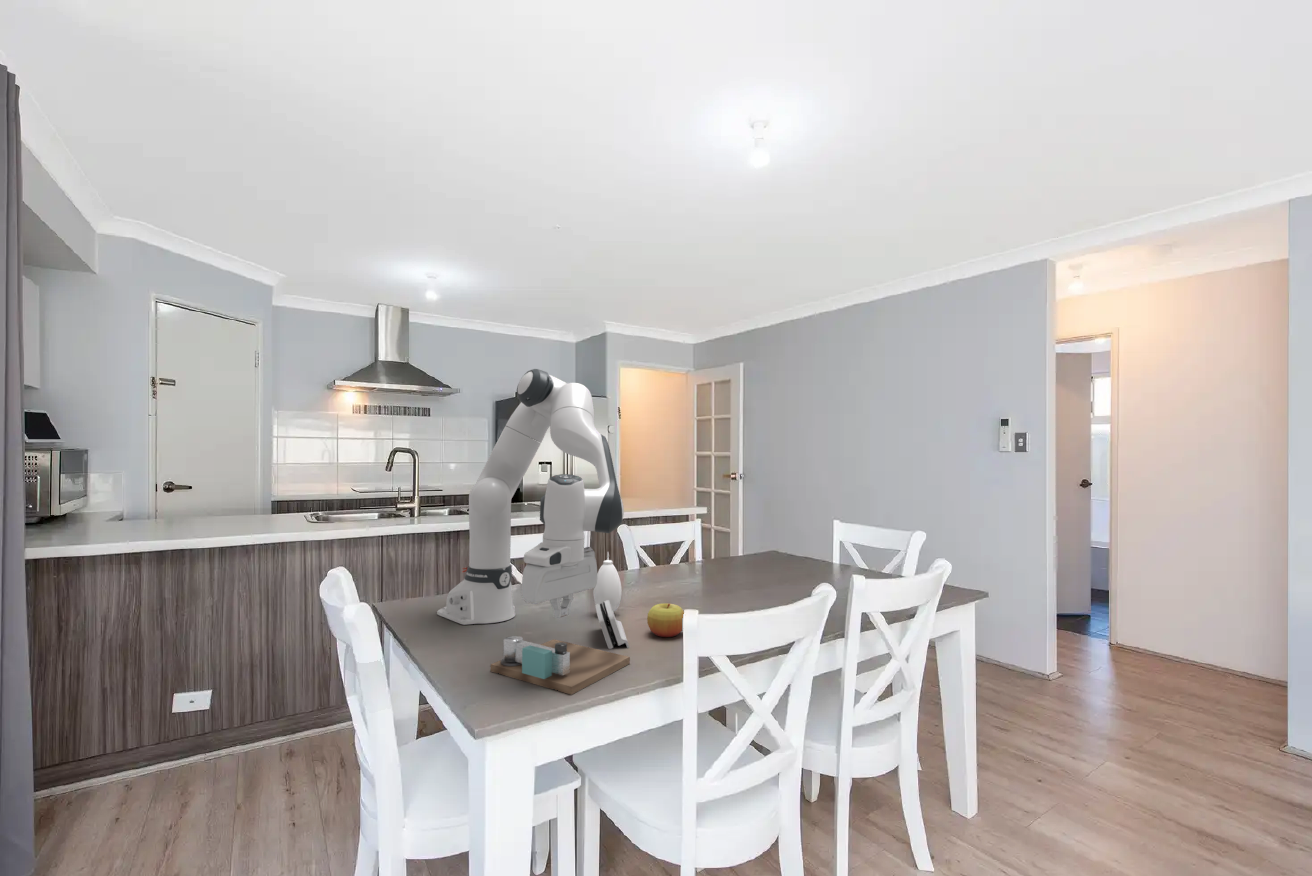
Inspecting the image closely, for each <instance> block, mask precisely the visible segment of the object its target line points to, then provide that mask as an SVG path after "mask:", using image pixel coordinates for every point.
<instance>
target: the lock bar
mask: <svg viewBox="0 0 1312 876" xmlns="http://www.w3.org/2000/svg"><path fill="white" fill-rule="evenodd" d="M527 646H535V647H539V648H543V649H547V650H551V651H552V672H553V673H556V674H560V675H565V674H567V673H569V672H570V652H567V643H563V642H561V643H556V644H555V648H551V647H547V646H543V645H540V644H539V643H535V642H532V641H531V642H530V641H526V640H524V638H523V636H518V635H512V636H507V637H505V638H504V639H503V655H502V656H503V658H502V659H503V660H504V661H506V662H518V663H521V664H522V648H524V647H527Z"/></svg>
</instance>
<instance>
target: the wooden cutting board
mask: <svg viewBox="0 0 1312 876" xmlns="http://www.w3.org/2000/svg"><path fill="white" fill-rule="evenodd" d="M561 642H563V643H567V652H570V672H569V673H567V674H565V675H560V674H556V673H553V672H552V676H550V677H548V678H546V679H542V678H538V677H535V676H531V675H527V674H524V673H522V664H521V663H518V662H506V661H504V660H503V658H502V659H500V660H497V661H495V662H492V663H490V672H491V673H496V674H498V673H499V674H498V675H503V676H505V677H507V678H508V677H509V678H512V679H516V680H519V681H523V682H526V683H530V684H533V685H536V686H540V687H543V688H547V689H551V690H553V689H555V690H554V691H557V690H558V692H561V693H565V694H567V695H571V696H572V695H574V694H576V693H578V692H579V691H581V690H583V689H585V688H587V687H589V686H591V685H592V684H594V683H595V684H596V683H597V682H598V681H601V680H602V679H605V677H607V676H609V675H611V674H613V673H615V672H617V671H619V670H621V669H623V668H624V667H626V666H628V665H630V664H631V663H630V662H631V656H628V655H624V654H619V653H615V652H610V651H606V650H602V649H597V648H593V647H589V646H584V645H581V644H576V643H572V642H567V641H562V640H558V639H551V640H548V641H546V642H544V643H541V644H539V645H543V646H547V647H551V648H555V644H556V643H561Z"/></svg>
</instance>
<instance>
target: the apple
mask: <svg viewBox="0 0 1312 876" xmlns="http://www.w3.org/2000/svg"><path fill="white" fill-rule="evenodd" d="M684 613H685V611H684V610H683V608H682V607H681V606H679V605H678V604H673V603H669V602H667V603H657V604H654V605H653V606H651V608H650V609H649V611H648V613H647V619H646V622H647V626H648V628H649V629H650V631H651V633H652V634H654V635H655V636H657V637H661V638H672V637H676V636H677V635H679V634H680V633H681V632H682V631H683V630H682V618H683V614H684Z"/></svg>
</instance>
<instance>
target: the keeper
mask: <svg viewBox="0 0 1312 876" xmlns="http://www.w3.org/2000/svg"><path fill="white" fill-rule="evenodd" d="M522 673H524V674H527V675H531V676H535V677H538V678H542V679H546V678H548V677H550V676H552V651H551V650H547V649H543V648H539V647H535V646H527V647H524V648H522Z"/></svg>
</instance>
